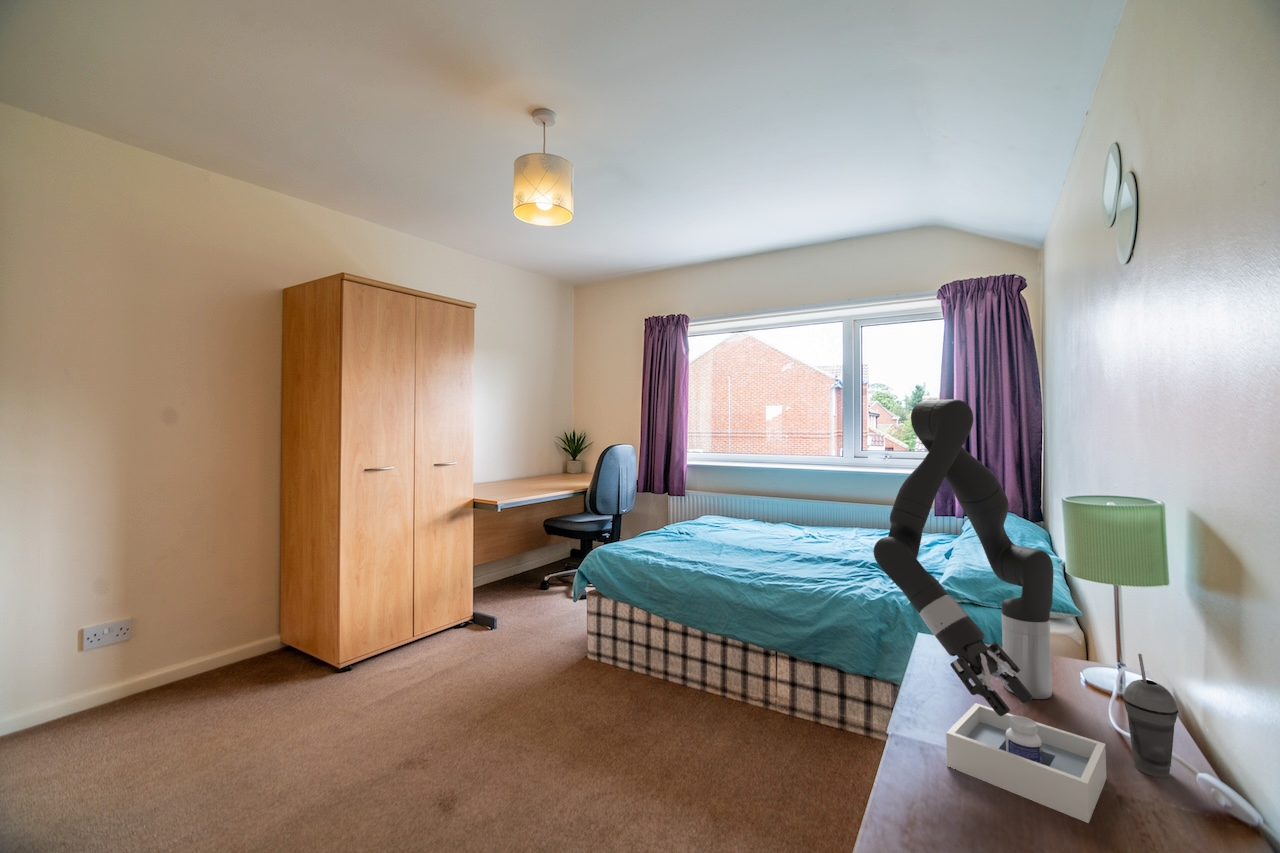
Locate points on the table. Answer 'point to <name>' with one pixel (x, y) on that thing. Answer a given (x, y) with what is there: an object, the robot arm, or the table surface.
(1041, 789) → the bore box
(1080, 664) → the table surface
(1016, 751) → the pill bottle
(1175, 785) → the table surface
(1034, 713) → the table surface
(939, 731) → the table surface
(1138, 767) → the beverage cup
